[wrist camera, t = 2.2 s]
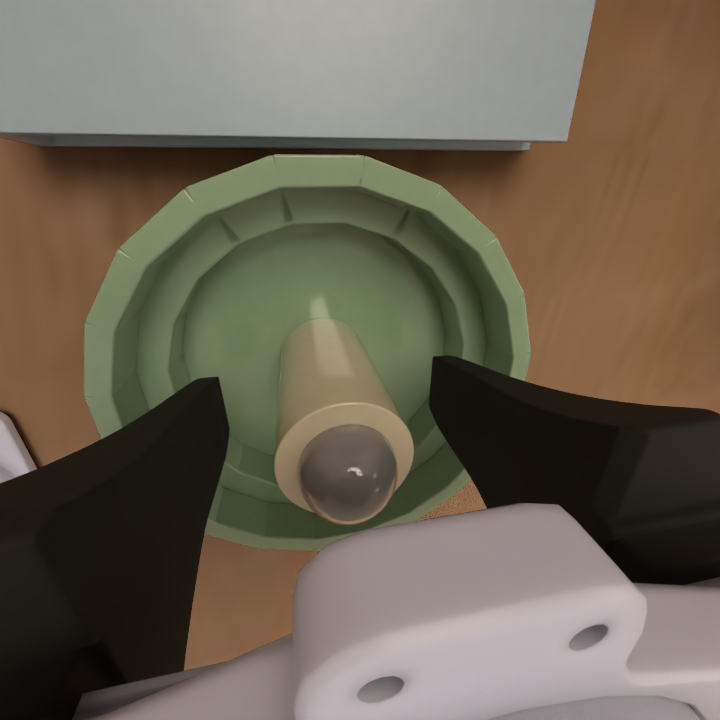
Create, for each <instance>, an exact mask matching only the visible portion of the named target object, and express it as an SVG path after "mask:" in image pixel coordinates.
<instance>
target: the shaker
mask: <svg viewBox="0 0 720 720" xmlns="http://www.w3.org/2000/svg"><path fill="white" fill-rule="evenodd" d="M413 456H414V444H413V439H412V436H411V433H410V431H409V429H408V427H407V425H406V423H405V422H404V420H403V418H402V416H401V414H400V412H399V410H398V408H397V406H396V405H395V403H394V401H393V399H392V397H391V395H390V393H389V391H388V389H387V388H386V386H385V384H384V382H383V380H382V378H381V376H380V374H379V372H378V371H377V369H376V367H375V365H374V363H373V361H372V359H371V357H370V355H369V354H368V352H367V350H366V348H365V346H364V344H363V342H362V340H361V339H360V337H359V335H358V334H357V333H356V332H355V331H354V330H353V329H352V328H351V327H350V326H348V325H347V324H345V323H343V322H340V321H338V320H334V319H327V318H323V319H314V320H311V321H308V322H305V323H303V324H301V325H299V326H298V327H297V328H295V329H294V330H293V331H292V332H291V333H290V334H289V335H288V337H287V338H286V340H285V341H284V343H283V346H282V349H281V353H280V367H279V384H278V401H277V418H276V435H275V452H274V474H275V478H276V481H277V483H278V485H279V487H280V489H281V490H282V492H283V493H284V495H285V496H286V497H287V498H288V499H289V500H290V501H292V502H293V503H294V504H296V505H297V506H299V507H301V508H303V509H305V510H308V511H311V512H314V513H316V514H318V515H319V516H320V517H322V518H323V519H325V520H327V521H330V522H332V523H336V524H341V525H353V524H359V523H362V522H365V521H367V520H369V519H371V518H373V517H374V516H376V515H377V514H378V513H380V512H381V511H382V510H383V509H384V508H385V506H386V505H387V504H388V503H389V501H390V499H391V497H392V495H393V493H394V492H395V491H396V489H397V488H398V487H399V486H400V485H401V484H402V483H403V481H404V480H405V478H406V476H407V475H408V473H409V471H410V468H411V465H412V462H413Z"/></svg>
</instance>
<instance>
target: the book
mask: <svg viewBox="0 0 720 720" xmlns="http://www.w3.org/2000/svg"><path fill="white" fill-rule="evenodd" d="M595 2H596V0H0V137H2V138H6V139H10V140H15V141H19V142H23V143H28V144H32V145H35V146H78V147H175V148H273V149H371V150H469V151H527V150H529V147H530V142H532V143H562V142H566V141H567V139H568V134H569V129H570V124H571V119H572V114H573V110H574V105H575V100H576V95H577V90H578V85H579V80H580V75H581V71H582V66H583V61H584V56H585V51H586V46H587V41H588V36H589V31H590V27H591V22H592V17H593V12H594V7H595Z"/></svg>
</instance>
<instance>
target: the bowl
mask: <svg viewBox="0 0 720 720" xmlns="http://www.w3.org/2000/svg"><path fill="white" fill-rule="evenodd" d="M323 318H327V319H334V320H338V321H340V322H343V323H345V324H347V325H348V326H350V327H351V328H352V329H353V330H354V331H355V332H356V333H357V334H358V335H359V337H360V339H361V340H362V342H363V344H364V346H365V348H366V350H367V352H368V354H369V355H370V357H371V359H372V361H373V363H374V365H375V367H376V369H377V371H378V372H379V374H380V376H381V378H382V380H383V382H384V384H385V386H386V388H387V389H388V391H389V393H390V395H391V397H392V399H393V401H394V403H395V405H396V406H397V408H398V410H399V412H400V414H401V416H402V418H403V420H404V422H405V423H406V425H407V427H408V429H409V431H410V433H411V436H412V439H413V444H414V456H413V462H412V465H411V468H410V471H409V473H408V475H407V476H406V478H405V480H404V481H403V483H402V484H401V485H400V486H399V487H398V488H397V489H396V491H395V492H394V493H393V495H392V497H391V499H390V501H389V503H388V504H387V505H386V506H385V508H384V509H383V510H382V511H381V512H380V513H378V514H377V515H376V516H374V517H373V518H371V519H369V520H367V521H365V522H362V523H359V524H353V525H341V524H336V523H332V522H330V521H327V520H325V519H323V518H322V517H320V516H319V515H318V514H316V513H314V512H311V511H308V510H305V509H303V508H301V507H299V506H297V505H296V504H294V503H293V502H292V501H290V500H289V499H288V498H287V497H286V496H285V495H284V493H283V492H282V490H281V489H280V487H279V485H278V483H277V481H276V478H275V474H274V452H275V435H276V418H277V401H278V384H279V367H280V353H281V349H282V346H283V343H284V341H285V340H286V338H287V337H288V335H289V334H290V333H291V332H292V331H293V330H294V329H295V328H297V327H298V326H299V325H301V324H303V323H305V322H308V321H311V320H314V319H323ZM85 322H86V323H85V324H84V396H85V400H86V402H87V405H88V407H89V409H90V412H91V414H92V417H93V419H94V422H95V424H96V426H97V429H98V431H99V434H100V436H101V439H103V438H105V437H107V436H109V435H110V434H112V433H114V432H116V431H118V430H119V429H121V428H123V427H124V426H126V425H128V424H129V423H131V422H133V421H134V420H136V419H137V418H139V417H140V416H142V415H144V414H145V413H147V412H148V411H150V410H151V409H153V408H155V407H156V406H158V405H159V404H160V403H162V402H163V401H165V400H166V399H168V398H169V397H170V396H172V395H173V394H175V393H176V392H178V391H179V390H180V389H182V388H183V387H185V386H186V385H188V384H189V383H191V382H193V381H194V380H196V379H198V378H207V377H218V376H219V381H220V385H221V390H222V395H223V399H224V404H225V409H226V414H227V418H228V423H229V428H230V432H229V440H228V448H227V454H226V459H225V462H224V466H223V469H222V473H221V476H220V479H219V483H218V486H217V489H216V493H215V496H214V499H213V503H212V506H211V510H210V513H209V516H208V520H207V524H206V528H205V532H204V533H205V535H208V536H212V537H216V538H220V539H223V540H227V541H231V542H234V543H238V544H242V545H245V546H249V547H253V548H256V549H259V548H260V549H269V550H298V551H314V550H315V551H319V550H323V549H324V548H325V547H326V546H327V545H328V544H330V543H331V542H333V541H336V540H339V539H342V538H344V537H347V536H350V535H353V534H355V533H358V532H361V531H364V530H367V529H373V528H379V527H385V526H391V525H396V524H402V523H408V522H414V521H417V520H419V519H420V518H422V517H423V516H425V515H426V514H428V513H429V512H431V511H432V510H434V509H435V508H436V507H438V506H439V505H441V504H442V503H444V502H445V501H447V500H448V499H450V498H451V497H452V496H454V495H455V494H457V493H458V491H460V490H461V489H462V488H463V487H464V486H465V485H466V484H467V483H468V482H469V481H470V480H471V477H470V476H469V474H468V473H467V471H466V470H465V468H464V467H463V465H462V464H461V462H460V461H459V459H458V458H457V456H456V455H455V453H454V451H453V450H452V448H451V447H450V445H449V444H448V442H447V441H446V439H445V438H444V436H443V435H442V433H441V431H440V430H439V428H438V426H437V424H436V422H435V420H434V418H433V415H432V413H431V411H430V408H429V395H430V383H431V371H432V359H433V357H434V356H445V355H451V356H455V357H459V358H462V359H465V360H468V361H470V362H473V363H476V364H478V365H481V366H483V367H486V368H489V369H491V370H494V371H497V372H499V373H502V374H505V375H508V376H510V377H513V378H516V379H519V380H523V381H525V380H526V375H527V371H528V366H529V361H530V357H531V353H530V352H531V347H530V338H529V329H528V320H527V310H526V301H525V296H524V291H523V289H522V287H521V285H520V283H519V281H518V279H517V277H516V275H515V273H514V271H513V269H512V267H511V265H510V263H509V261H508V259H507V257H506V255H505V253H504V251H503V249H502V247H501V245H500V243H499V241H498V239H497V237H495V235H494V233H493V232H492V231H491V230H490V229H488V228H487V227H486V226H485V225H484V224H483V223H482V222H481V221H480V220H479V219H478V218H476V217H475V216H474V215H473V214H472V213H471V212H470V211H469V210H468V209H467V208H466V207H464V206H463V205H462V204H461V203H460V202H459V201H458V200H457V199H456V198H455V197H454V196H452V195H451V194H450V193H449V192H448V191H447V190H446V189H445V188H444V187H441V185H440V184H437V183H434V182H432V181H429V180H427V179H424V178H422V177H419V176H417V175H414V174H411V173H409V172H406V171H404V170H401V169H399V168H396V167H394V166H391V165H388V164H386V163H383V162H381V161H378V160H376V159H373V158H371V157H368V156H363V155H298V154H275V155H273V156H271V155H269V156H267V157H264V158H261V159H259V160H256V161H253V162H251V163H248V164H245V165H243V166H240V167H237V168H235V169H232V170H229V171H227V172H224V173H221V174H219V175H216V176H213V177H211V178H208V179H205V180H203V181H200V182H197V183H195V184H192V185H189V186H187V187H186V189H183V190H181V191H180V192H179V193H178V194H177V195H176V196H175V197H173V198H172V199H171V200H170V201H169V202H168V203H167V204H166V205H165V206H164V207H163V208H161V209H160V210H159V211H158V212H157V213H156V214H155V215H154V216H153V217H152V218H150V219H149V220H148V221H147V222H146V223H145V224H144V225H143V226H142V227H141V228H140V229H138V230H137V231H136V232H135V233H134V234H133V235H132V236H131V237H130V238H129V239H128V240H126V241H125V242H124V243H123V244H122V245H121V246H120V249H118V250H117V252H116V254H115V256H114V258H113V260H112V263H111V265H110V267H109V269H108V272H107V274H106V276H105V278H104V280H103V283H102V285H101V287H100V289H99V291H98V294H97V296H96V298H95V300H94V302H93V305H92V307H91V309H90V311H89V314H88V316H87V318H86V321H85Z"/></svg>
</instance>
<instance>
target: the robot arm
mask: <svg viewBox="0 0 720 720" xmlns="http://www.w3.org/2000/svg"><path fill="white" fill-rule="evenodd" d="M429 408H430V411H431V413H432V415H433V418H434V420H435V422H436V424H437V426H438V428H439V430H440V431H441V433H442V435H443V436H444V438H445V439H446V441H447V442H448V444H449V445H450V447H451V448H452V450H453V451H454V453H455V455H456V456H457V458H458V459H459V461H460V462H461V464H462V465H463V467H464V468H465V470H466V471H467V473H468V474H469V476H470V477H471V479H472V481H473V482H474V484H475V486H476V487H477V489H478V491H479V493H480V495H481V497H482V499H483V501H484V503H485V505H486V507H487V509H483V510H477V511H472V512H466V513H460V514H454V515H448V516H443V517H437V518H431V519H425V520H420V521H414V522H408V523H402V524H396V525H391V526H385V527H379V528H373V529H367V530H364V531H361V532H358V533H355V534H353V535H350V536H347V537H344V538H342V539H339V540H336V541H333V542H331V543H330V544H328V545H327V546H326V547H325V548H324V549H323V550H322V551H321V552H320V553H318V554H317V555H316V556H315V557H314V558H313V559H312V560H311V561H310V562H308V563H307V564H306V565H305V566H304V567H303V568H302V569H301V570H300V571H299V575H298V578H297V582H296V586H295V590H294V594H293V633H292V634H289V635H287V636H285V637H282V638H280V639H278V640H275V641H273V642H271V643H269V644H266V645H264V646H262V647H259V648H257V649H255V650H252V651H250V652H248V653H246V654H243V655H241V656H239V657H236V658H234V659H232V660H229V661H227V662H222V663H218V664H213V665H209V666H204V667H200V668H195V669H190V670H186V671H184V663H185V655H186V647H187V639H188V632H189V625H190V618H191V610H192V603H193V597H194V591H195V584H196V578H197V572H198V565H199V560H200V554H201V549H202V543H203V538H204V532H205V528H206V524H207V520H208V516H209V513H210V510H211V506H212V503H213V499H214V496H215V493H216V489H217V486H218V483H219V479H220V476H221V473H222V469H223V466H224V462H225V459H226V454H227V448H228V440H229V432H230V428H229V423H228V418H227V414H226V409H225V404H224V399H223V395H222V390H221V385H220V381H219V376H218V377H207V378H198V379H196V380H194V381H193V382H191V383H189V384H188V385H186V386H185V387H183V388H182V389H180V390H179V391H178V392H176V393H175V394H173V395H172V396H170V397H169V398H168V399H166V400H165V401H163V402H162V403H160V404H159V405H158V406H156V407H155V408H153V409H151V410H150V411H148V412H147V413H145V414H144V415H142V416H140V417H139V418H137V419H136V420H134V421H133V422H131V423H129V424H128V425H126V426H124V427H123V428H121V429H119V430H118V431H116V432H114V433H112V434H110V435H109V436H107V437H105V438H103V439H101V440H99V441H97V442H95V443H93V444H91V445H89V446H87V447H85V448H83V449H81V450H79V451H77V452H74V453H72V454H70V455H68V456H65V457H63V458H61V459H59V460H57V461H54V462H52V463H50V464H48V465H45V466H43V467H41V468H38V469H37V467H36V465H35V464H34V462H33V460H32V458H31V456H30V454H29V452H28V450H27V449H26V447H25V445H24V443H23V441H22V439H21V437H20V435H19V434H18V432H17V430H16V428H15V426H14V424H13V422H12V421H11V419H10V418H9V417H8V416H7V415H6V414H4V413H2V412H0V720H720V414H718V413H716V412H714V411H711V410H707V409H700V408H685V407H669V406H654V405H643V404H635V403H626V402H618V401H611V400H604V399H598V398H592V397H587V396H581V395H576V394H571V393H567V392H562V391H558V390H554V389H550V388H546V387H543V386H539V385H535V384H532V383H529V382H526V381H523V380H519V379H516V378H513V377H510V376H508V375H505V374H502V373H499V372H497V371H494V370H491V369H489V368H486V367H483V366H481V365H478V364H476V363H473V362H470V361H468V360H465V359H462V358H459V357H455V356H451V355H445V356H434V357H433V359H432V371H431V383H430V395H429Z"/></svg>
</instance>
